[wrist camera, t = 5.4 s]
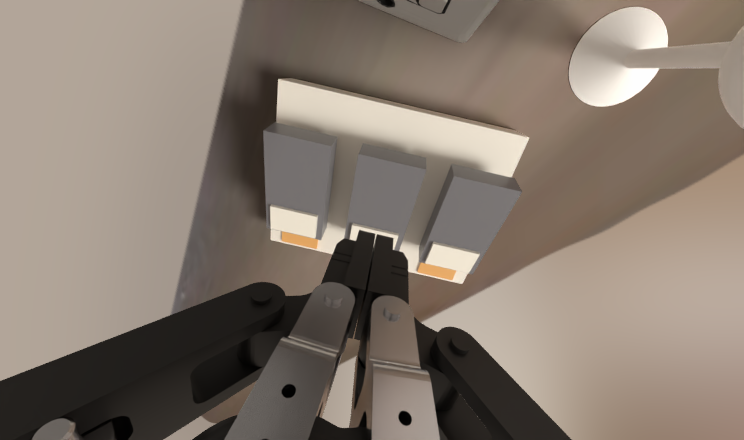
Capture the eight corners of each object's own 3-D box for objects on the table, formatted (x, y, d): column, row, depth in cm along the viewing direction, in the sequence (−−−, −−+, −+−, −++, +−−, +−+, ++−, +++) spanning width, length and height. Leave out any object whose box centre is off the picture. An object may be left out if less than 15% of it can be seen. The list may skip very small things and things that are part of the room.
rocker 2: (451, 163, 22) (454, 178, 21) (514, 178, 22) (523, 194, 21) (418, 247, 28) (418, 264, 26) (469, 258, 28) (472, 276, 26)
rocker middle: (362, 142, 22) (357, 155, 20) (426, 157, 22) (426, 171, 21) (347, 230, 28) (342, 246, 26) (398, 242, 28) (396, 259, 26)
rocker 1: (274, 122, 22) (261, 131, 21) (337, 136, 22) (330, 147, 21) (275, 215, 28) (265, 229, 26) (326, 227, 28) (320, 242, 26)
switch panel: (291, 78, 25) (274, 79, 22) (516, 130, 25) (532, 139, 22) (281, 225, 32) (267, 243, 29) (457, 266, 32) (463, 288, 29)
